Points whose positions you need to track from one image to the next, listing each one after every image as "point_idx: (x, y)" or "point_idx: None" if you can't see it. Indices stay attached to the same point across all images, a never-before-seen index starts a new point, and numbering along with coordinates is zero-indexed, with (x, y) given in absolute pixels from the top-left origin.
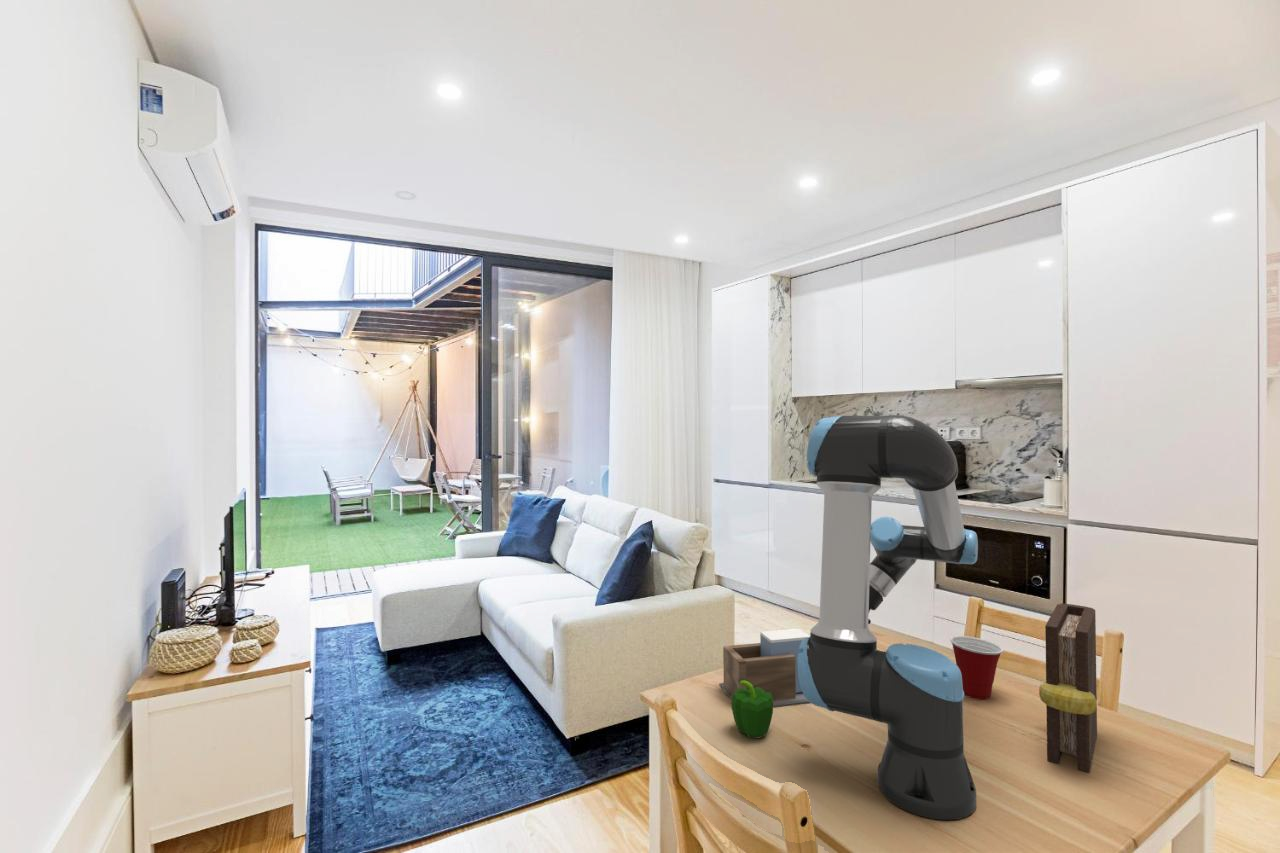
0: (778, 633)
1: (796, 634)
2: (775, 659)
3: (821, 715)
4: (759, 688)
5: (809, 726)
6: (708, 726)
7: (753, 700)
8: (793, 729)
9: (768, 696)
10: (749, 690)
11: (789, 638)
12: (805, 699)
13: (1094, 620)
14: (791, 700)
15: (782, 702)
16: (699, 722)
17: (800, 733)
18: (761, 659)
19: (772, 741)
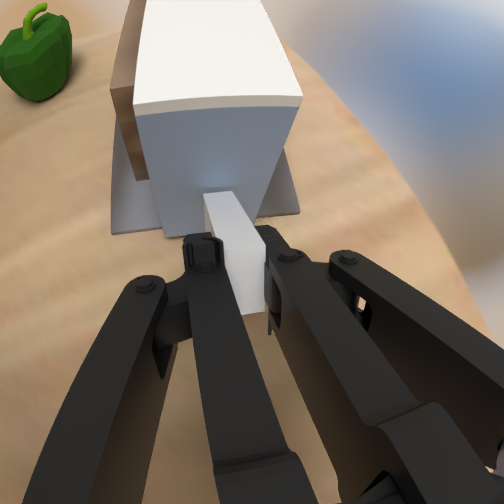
0: (224, 13)
1: (193, 56)
2: (119, 44)
3: (45, 221)
4: (40, 39)
5: (17, 178)
6: (94, 38)
7: (10, 36)
8: (21, 145)
9: (7, 54)
10: (51, 30)
11: (143, 27)
12: (125, 205)
13: None
14: (129, 167)
15: (124, 144)
16: (111, 30)
17: (6, 154)
18: (127, 18)
19: (10, 108)
